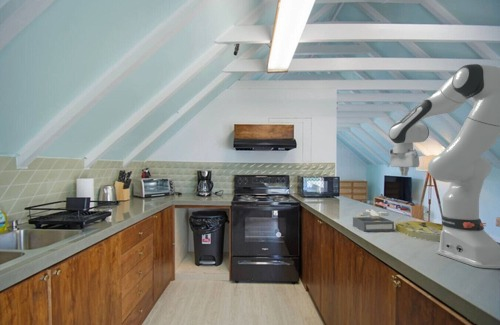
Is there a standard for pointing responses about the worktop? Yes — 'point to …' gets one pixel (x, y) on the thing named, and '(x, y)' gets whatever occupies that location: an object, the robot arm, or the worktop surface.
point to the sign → (420, 229)
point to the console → (373, 224)
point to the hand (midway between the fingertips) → (404, 175)
